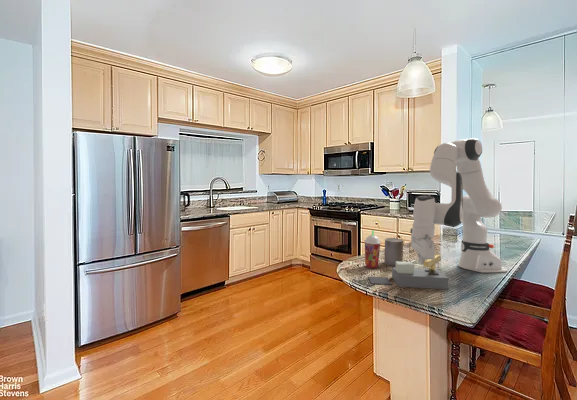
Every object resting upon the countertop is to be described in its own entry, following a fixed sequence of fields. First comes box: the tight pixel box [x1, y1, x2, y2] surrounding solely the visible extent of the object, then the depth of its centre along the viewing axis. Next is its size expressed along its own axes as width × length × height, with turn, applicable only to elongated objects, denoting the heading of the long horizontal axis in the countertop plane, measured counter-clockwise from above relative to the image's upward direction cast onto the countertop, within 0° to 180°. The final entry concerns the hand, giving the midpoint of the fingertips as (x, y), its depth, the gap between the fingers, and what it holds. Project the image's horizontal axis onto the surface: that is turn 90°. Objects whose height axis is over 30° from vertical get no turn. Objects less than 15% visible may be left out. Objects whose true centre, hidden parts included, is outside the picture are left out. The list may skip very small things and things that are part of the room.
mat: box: [367, 276, 392, 286], centre depth 140 cm, size 9×9×1 cm
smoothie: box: [364, 229, 382, 269], centre depth 161 cm, size 8×8×20 cm
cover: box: [394, 261, 415, 274], centre depth 139 cm, size 7×5×4 cm
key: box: [423, 254, 442, 273], centre depth 137 cm, size 16×2×7 cm, turn 136°
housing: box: [391, 266, 450, 290], centre depth 138 cm, size 21×12×6 cm, turn 84°
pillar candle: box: [383, 236, 404, 267], centre depth 168 cm, size 10×10×15 cm
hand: (421, 263), depth 134 cm, fingers closed
